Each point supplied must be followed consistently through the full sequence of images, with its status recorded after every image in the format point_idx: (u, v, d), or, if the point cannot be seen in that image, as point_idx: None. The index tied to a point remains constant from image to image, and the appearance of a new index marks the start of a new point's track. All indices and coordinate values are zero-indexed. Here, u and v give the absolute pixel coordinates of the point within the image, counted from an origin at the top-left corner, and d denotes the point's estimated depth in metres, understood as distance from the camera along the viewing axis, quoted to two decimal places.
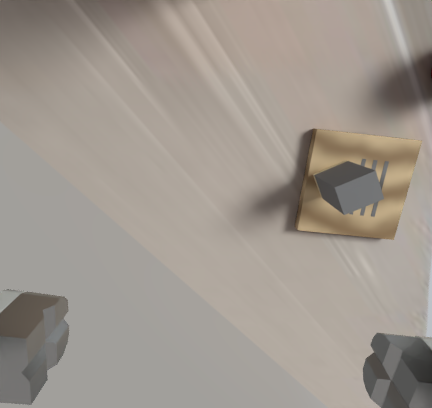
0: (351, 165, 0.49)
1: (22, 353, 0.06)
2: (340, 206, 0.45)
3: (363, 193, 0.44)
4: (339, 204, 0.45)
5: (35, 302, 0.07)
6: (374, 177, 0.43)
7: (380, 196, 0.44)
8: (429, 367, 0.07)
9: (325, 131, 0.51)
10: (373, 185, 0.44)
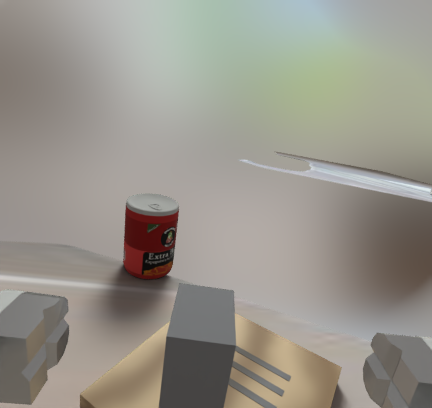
0: None
1: (22, 353, 0.06)
2: (214, 347, 0.20)
3: (208, 306, 0.23)
4: (210, 348, 0.20)
5: (35, 302, 0.07)
6: (189, 287, 0.25)
7: (225, 292, 0.25)
8: (429, 367, 0.07)
9: (96, 383, 0.27)
10: (202, 293, 0.25)
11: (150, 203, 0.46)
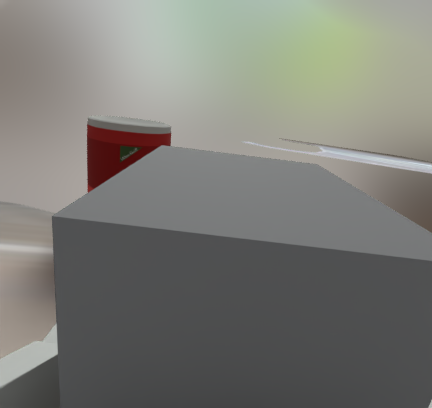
0: None
1: None
2: (354, 282, 0.03)
3: (261, 174, 0.07)
4: (324, 291, 0.03)
5: None
6: (190, 150, 0.08)
7: (298, 163, 0.09)
8: None
9: None
10: (232, 158, 0.08)
11: (126, 123, 0.29)
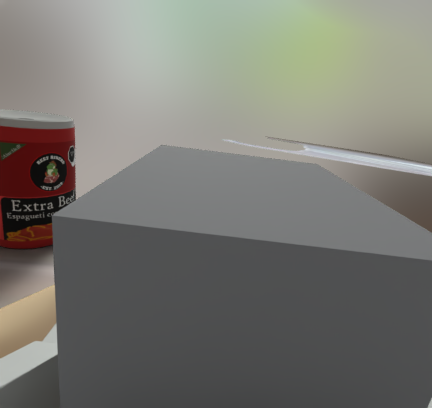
0: None
1: None
2: (353, 281, 0.03)
3: (261, 173, 0.07)
4: (323, 290, 0.03)
5: None
6: (190, 149, 0.08)
7: (297, 163, 0.09)
8: None
9: None
10: (232, 158, 0.08)
11: None
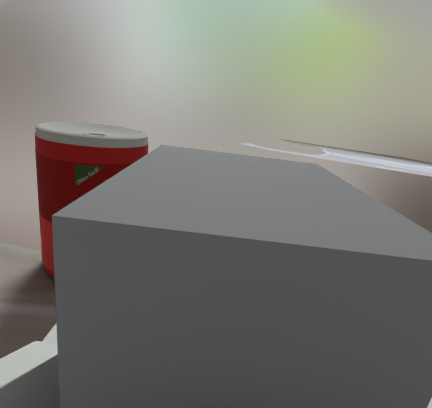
0: None
1: None
2: (353, 281, 0.03)
3: (261, 173, 0.07)
4: (323, 290, 0.03)
5: None
6: (190, 149, 0.08)
7: (297, 163, 0.09)
8: None
9: None
10: (232, 158, 0.08)
11: None
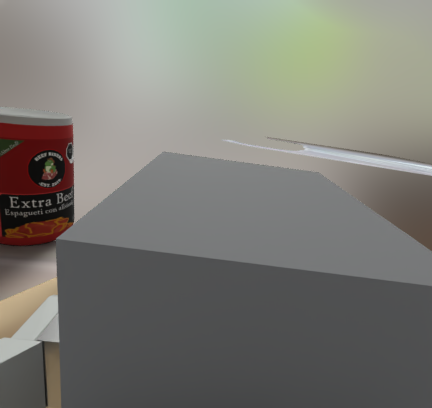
0: None
1: None
2: (356, 306, 0.03)
3: (263, 184, 0.07)
4: (327, 314, 0.03)
5: None
6: (192, 157, 0.08)
7: (299, 172, 0.09)
8: None
9: None
10: (233, 166, 0.08)
11: None
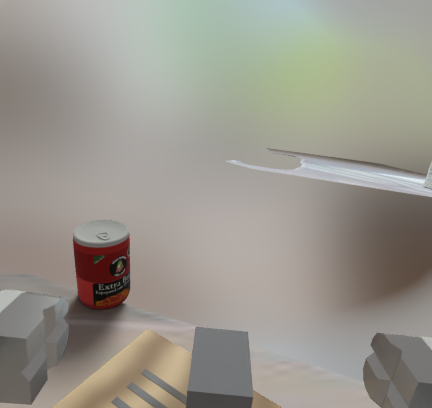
0: None
1: (22, 353, 0.06)
2: (233, 398, 0.21)
3: (225, 353, 0.24)
4: (228, 400, 0.21)
5: (35, 302, 0.07)
6: (205, 331, 0.26)
7: (240, 334, 0.26)
8: (429, 367, 0.07)
9: None
10: (218, 337, 0.26)
11: (99, 232, 0.45)
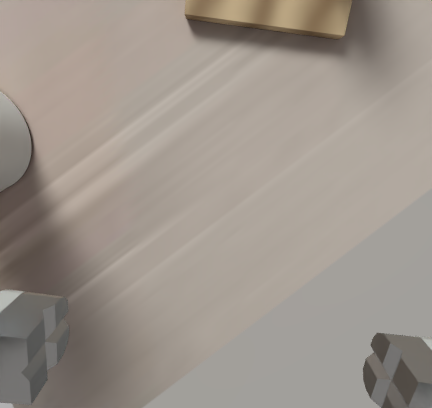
0: None
1: (22, 353, 0.06)
2: None
3: None
4: None
5: (35, 302, 0.07)
6: None
7: None
8: (429, 367, 0.07)
9: None
10: None
11: None
